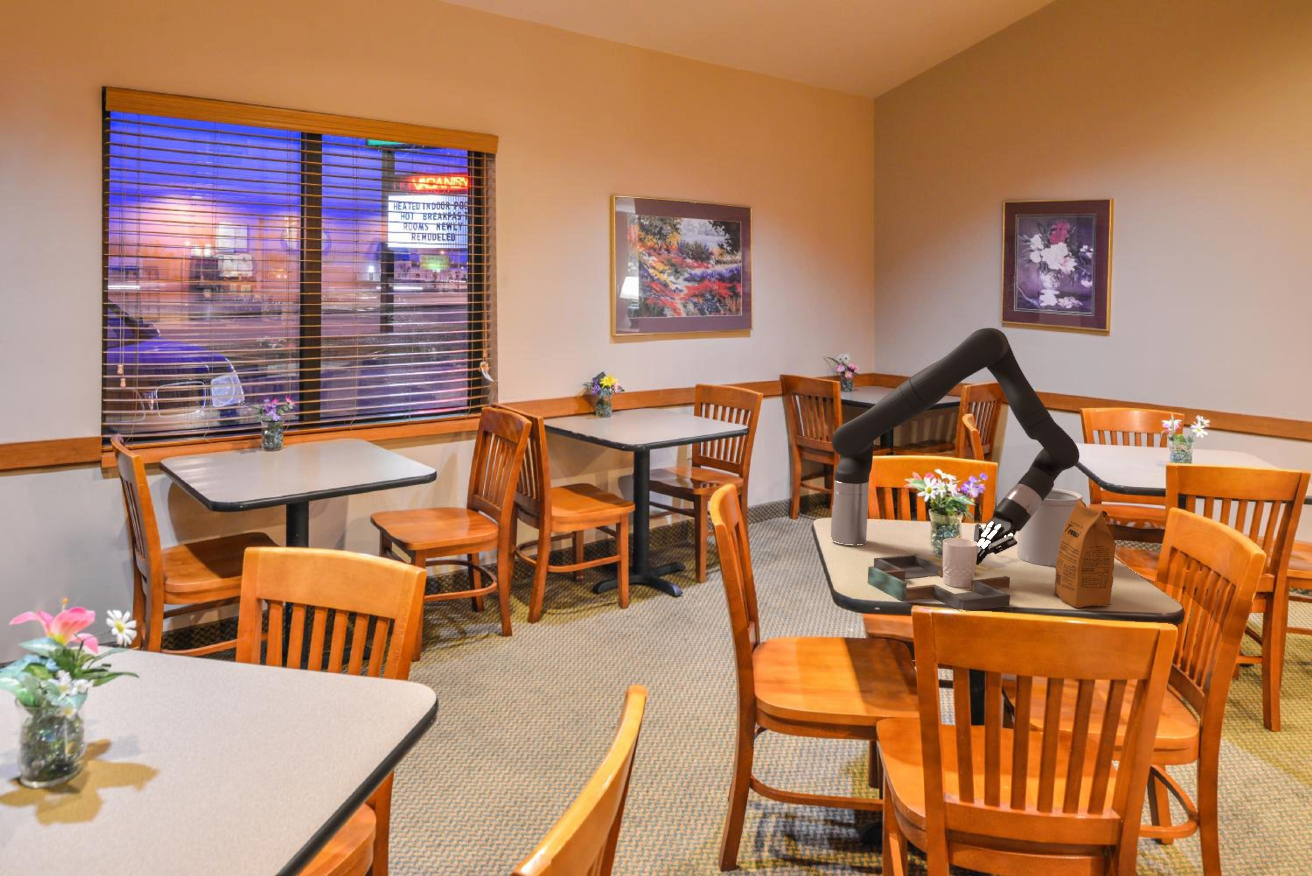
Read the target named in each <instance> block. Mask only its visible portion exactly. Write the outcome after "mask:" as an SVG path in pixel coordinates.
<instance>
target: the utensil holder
mask: <svg viewBox="0 0 1312 876" xmlns="http://www.w3.org/2000/svg"><path fill="white" fill-rule="evenodd" d="M1078 500H1082V501H1083V495H1082V494H1080V493H1079V492H1076V491H1072V490H1068V489H1064V488H1063V489H1062V488H1056V487H1053V488H1052V490H1051V491H1050V493H1049V494H1048V495H1047V497H1046V498H1045V499H1044V500H1043V502H1042V503H1041V504H1040V506H1039V508H1038V509H1037V511H1036V512H1035V513H1034V514H1033V516H1032V517H1031V518H1030V519H1029V521H1028V522H1027V523H1026V524H1025V526H1024V527H1023V528H1022V529H1021V530H1020V531H1018V532H1017V540H1016V541H1017V544H1016V548H1017V549H1016V555H1017V558H1018V559H1020V560H1021V561H1024V562H1027V563H1031V564H1034V565H1039V566H1045V567H1056V559H1057V555H1058V550H1059V545H1060V540H1061V537H1062V533H1063V531H1064V528H1065V525H1066V523H1067V521H1068V520H1069V518H1070V516H1071V513H1072V511H1073V509H1074V508H1075V506H1076V503H1077V502H1078Z"/></svg>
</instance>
